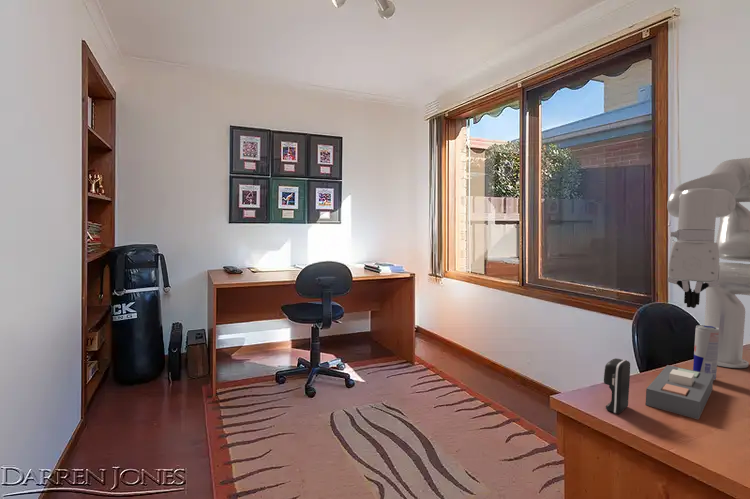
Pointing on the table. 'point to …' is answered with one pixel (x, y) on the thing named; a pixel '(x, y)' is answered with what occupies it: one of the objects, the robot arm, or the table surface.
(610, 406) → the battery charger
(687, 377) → the cream button
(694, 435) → the table surface
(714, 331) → the beverage can
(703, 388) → the frame
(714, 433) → the table surface
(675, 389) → the terracotta button
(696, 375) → the sage button
